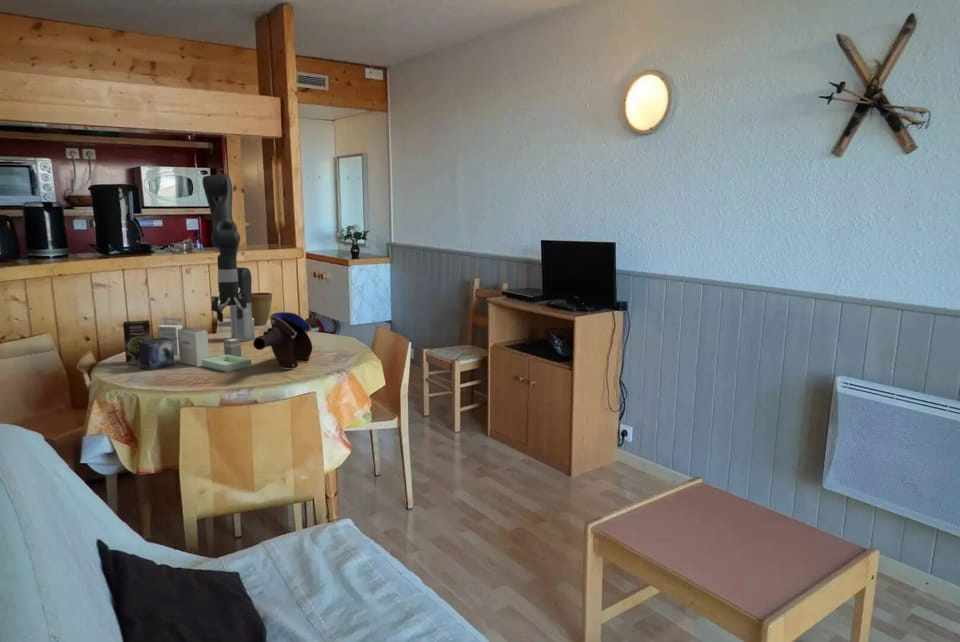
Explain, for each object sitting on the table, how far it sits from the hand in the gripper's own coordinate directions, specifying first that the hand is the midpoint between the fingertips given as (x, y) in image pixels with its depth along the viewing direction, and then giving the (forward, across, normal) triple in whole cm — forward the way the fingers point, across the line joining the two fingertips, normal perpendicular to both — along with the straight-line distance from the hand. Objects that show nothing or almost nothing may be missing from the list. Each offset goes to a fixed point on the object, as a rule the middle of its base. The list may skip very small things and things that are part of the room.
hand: (230, 320), depth 257 cm
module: (+15, 0, 0) cm, 15 cm away
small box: (+15, +27, -8) cm, 32 cm away
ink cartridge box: (+15, +11, -26) cm, 32 cm away
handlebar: (+15, -6, +29) cm, 33 cm away
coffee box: (+15, +27, -21) cm, 37 cm away
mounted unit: (+15, +15, -3) cm, 21 cm away
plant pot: (+15, -52, -53) cm, 76 cm away
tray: (+15, +11, +12) cm, 22 cm away
